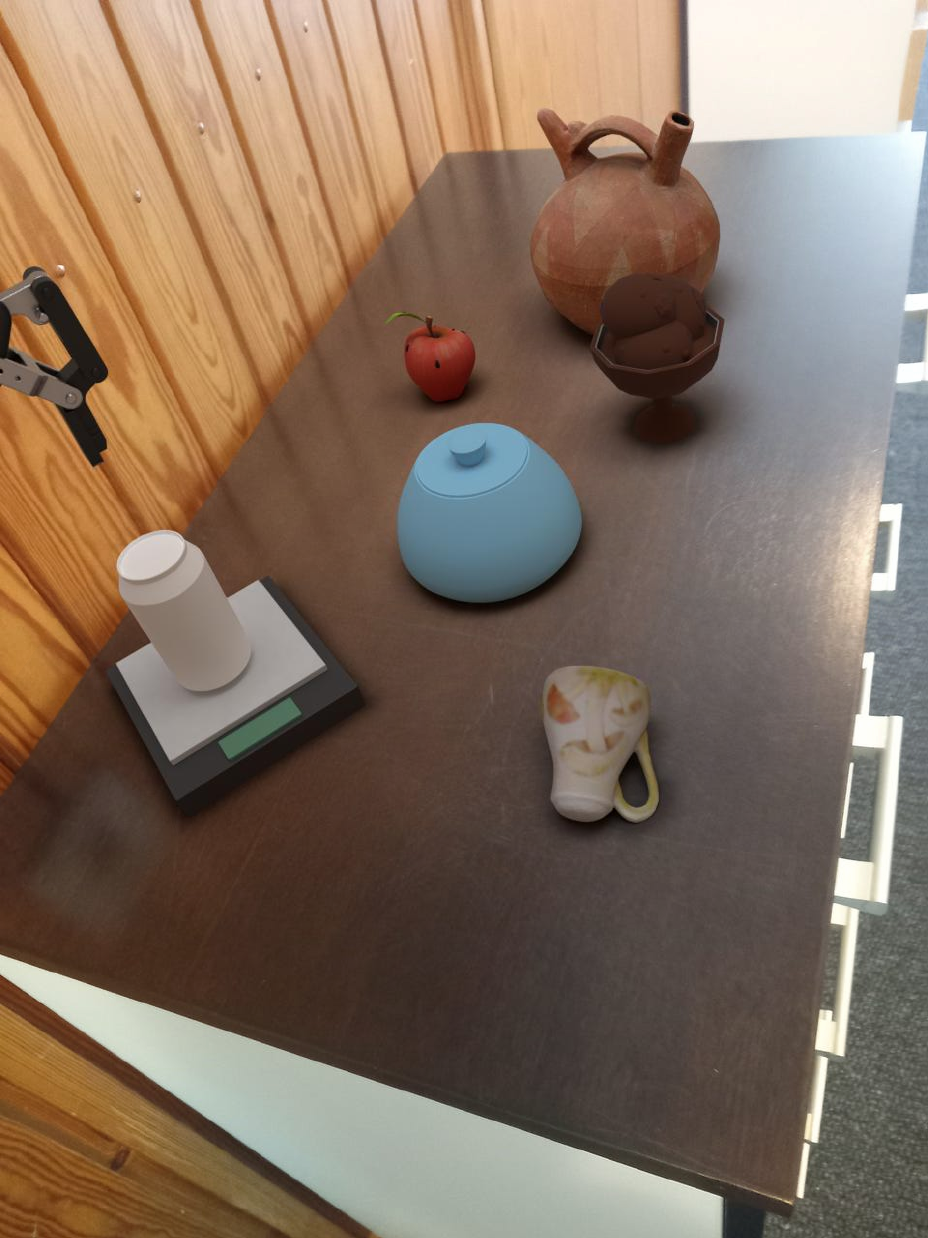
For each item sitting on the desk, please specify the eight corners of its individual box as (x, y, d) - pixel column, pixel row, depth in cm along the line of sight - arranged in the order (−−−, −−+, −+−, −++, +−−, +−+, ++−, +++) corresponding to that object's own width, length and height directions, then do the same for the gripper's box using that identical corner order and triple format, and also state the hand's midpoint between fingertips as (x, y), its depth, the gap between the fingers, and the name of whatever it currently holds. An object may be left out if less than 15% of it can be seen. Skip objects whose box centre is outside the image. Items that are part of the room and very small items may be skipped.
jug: (508, 346, 106) (468, 153, 91) (593, 255, 114) (568, 66, 100) (673, 376, 96) (657, 166, 82) (752, 275, 105) (750, 69, 91)
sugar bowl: (443, 643, 80) (406, 534, 71) (383, 532, 90) (345, 426, 82) (617, 566, 81) (600, 451, 73) (539, 466, 92) (516, 355, 83)
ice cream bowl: (697, 475, 86) (688, 319, 76) (581, 449, 92) (557, 299, 81) (748, 401, 92) (746, 244, 81) (635, 380, 97) (618, 231, 86)
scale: (189, 819, 73) (171, 796, 71) (118, 689, 84) (101, 665, 82) (367, 705, 77) (355, 680, 75) (277, 594, 87) (265, 569, 85)
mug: (530, 842, 66) (493, 700, 64) (586, 771, 74) (556, 642, 72) (638, 847, 63) (604, 697, 60) (686, 771, 70) (657, 635, 68)
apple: (458, 364, 105) (435, 275, 98) (496, 389, 101) (475, 298, 94) (396, 399, 103) (368, 312, 96) (432, 427, 99) (406, 337, 92)
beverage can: (264, 633, 80) (204, 519, 72) (243, 696, 76) (178, 583, 67) (191, 637, 82) (124, 526, 73) (167, 699, 77) (93, 589, 69)
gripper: (-27, 132, 50) (120, 410, 61) (-328, 255, 46) (-113, 527, 57) (10, 168, 45) (162, 464, 56) (-324, 309, 41) (-89, 595, 52)
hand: (23, 495), depth 57 cm, fingers open, 8 cm apart
